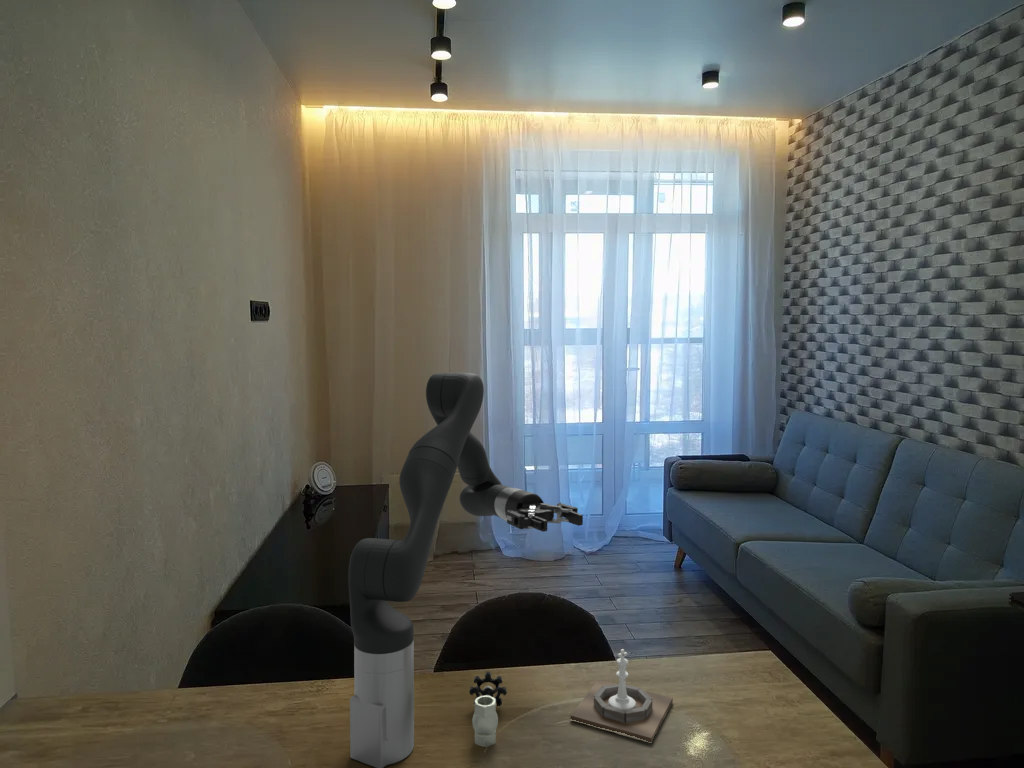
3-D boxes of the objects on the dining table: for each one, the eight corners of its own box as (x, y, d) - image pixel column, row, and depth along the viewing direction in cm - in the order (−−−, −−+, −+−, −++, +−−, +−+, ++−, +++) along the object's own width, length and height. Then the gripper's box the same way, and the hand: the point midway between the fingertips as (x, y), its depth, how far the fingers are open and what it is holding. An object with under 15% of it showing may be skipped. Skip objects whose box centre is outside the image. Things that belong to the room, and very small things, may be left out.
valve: (505, 748, 101) (506, 707, 113) (505, 708, 101) (506, 671, 113) (463, 748, 101) (469, 707, 113) (463, 707, 101) (469, 671, 113)
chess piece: (602, 702, 113) (602, 646, 112) (625, 696, 115) (626, 641, 114) (618, 716, 108) (618, 658, 108) (642, 709, 110) (642, 652, 110)
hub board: (651, 744, 102) (651, 728, 102) (570, 721, 109) (570, 706, 109) (672, 703, 114) (672, 689, 114) (598, 684, 121) (598, 671, 121)
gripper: (490, 493, 133) (533, 508, 120) (545, 486, 141) (592, 499, 127) (490, 529, 133) (533, 548, 120) (545, 520, 141) (592, 537, 127)
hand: (564, 523), depth 123 cm, fingers open, 8 cm apart
